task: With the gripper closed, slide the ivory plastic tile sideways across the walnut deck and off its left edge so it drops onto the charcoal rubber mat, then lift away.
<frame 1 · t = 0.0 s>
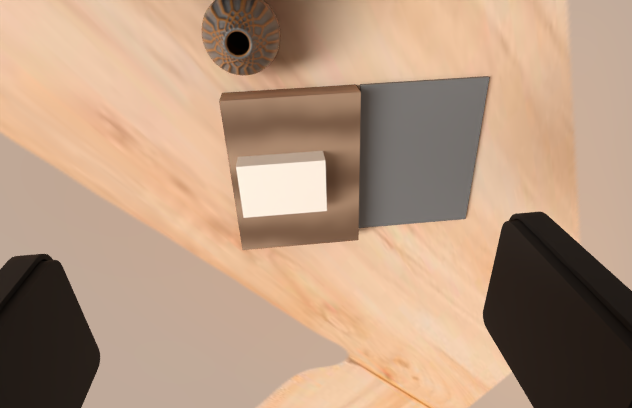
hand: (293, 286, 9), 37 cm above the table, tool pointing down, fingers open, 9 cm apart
ivory tile: (282, 179, 45), point 3 cm above the table, touching walnut deck
charcoal mat: (417, 157, 49), on the table
walnut deck: (295, 166, 48), on the table
vase: (244, 29, 40), on the table
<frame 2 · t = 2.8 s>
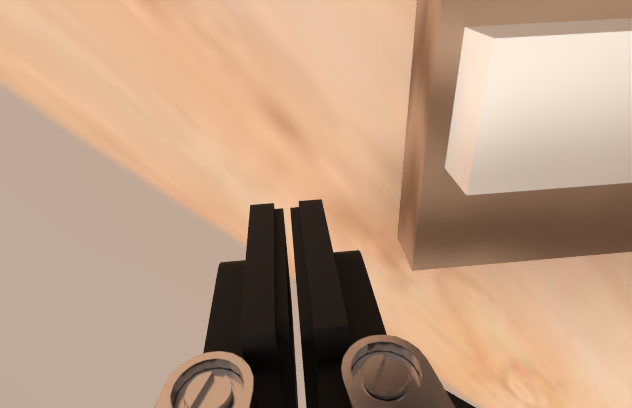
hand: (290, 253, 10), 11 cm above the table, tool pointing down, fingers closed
ivory tile: (557, 97, 18), point 3 cm above the table, touching walnut deck
walnut deck: (550, 77, 20), on the table
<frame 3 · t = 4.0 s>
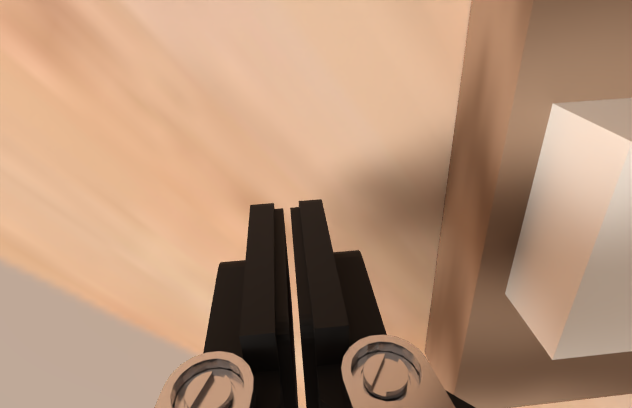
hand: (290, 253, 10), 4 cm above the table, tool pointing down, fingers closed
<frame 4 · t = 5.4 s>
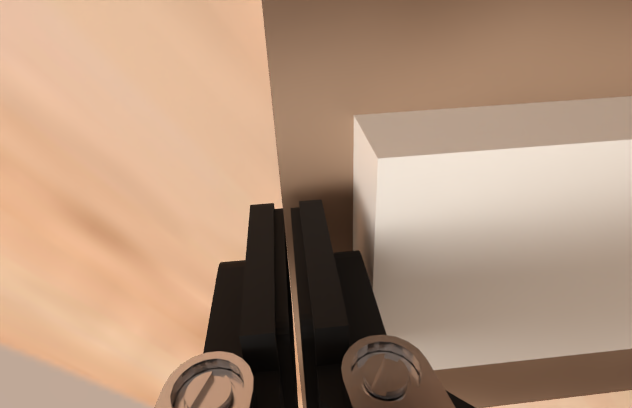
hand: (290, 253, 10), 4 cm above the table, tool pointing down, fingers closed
ivory tile: (515, 210, 11), point 3 cm above the table, touching gripper, walnut deck
walnut deck: (489, 161, 14), on the table
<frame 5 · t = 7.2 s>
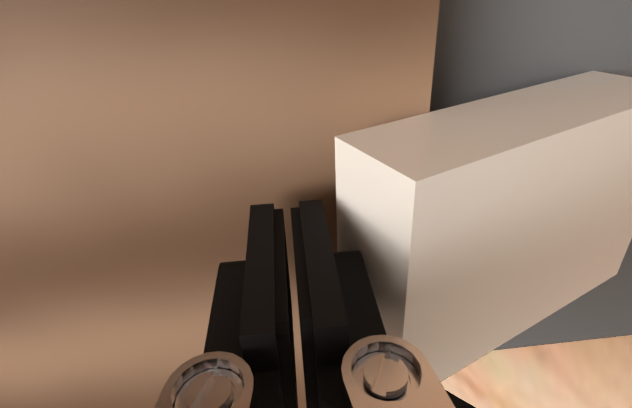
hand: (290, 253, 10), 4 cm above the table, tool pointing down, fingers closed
ivory tile: (469, 200, 12), point 2 cm above the table, tilted 24°, touching gripper
charcoal mat: (606, 152, 14), on the table
walnut deck: (177, 188, 13), on the table
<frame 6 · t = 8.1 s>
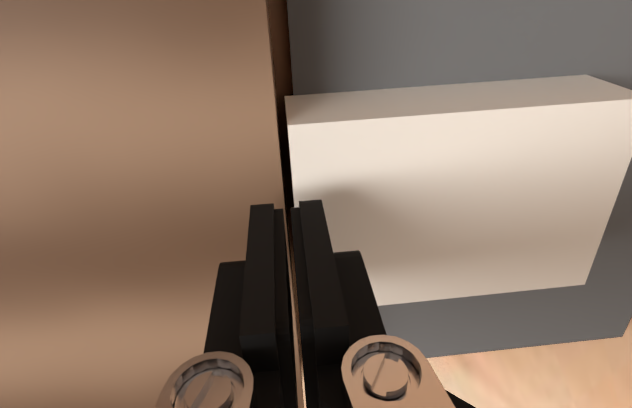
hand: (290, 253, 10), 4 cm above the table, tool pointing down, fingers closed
ivory tile: (429, 177, 14), resting on charcoal mat
charcoal mat: (505, 162, 14), on the table
walnut deck: (63, 197, 13), on the table
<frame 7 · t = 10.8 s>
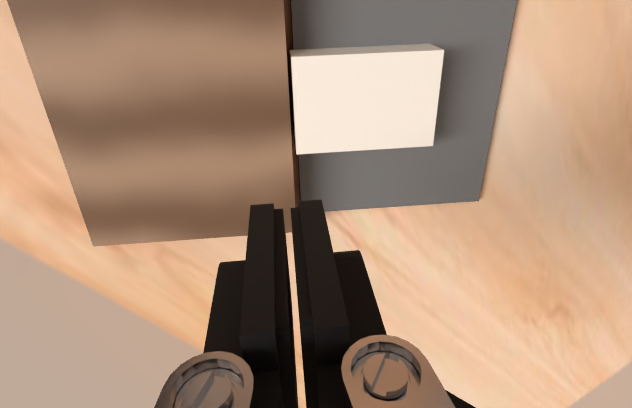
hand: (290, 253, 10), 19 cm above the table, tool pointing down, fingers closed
ivory tile: (359, 94, 28), resting on charcoal mat
charcoal mat: (398, 88, 28), on the table
walnut deck: (181, 99, 27), on the table
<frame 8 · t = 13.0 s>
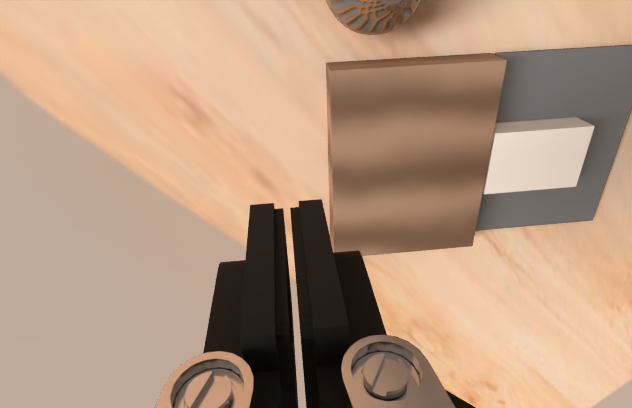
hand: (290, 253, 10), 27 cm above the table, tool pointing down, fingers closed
ivory tile: (523, 150, 40), resting on charcoal mat
charcoal mat: (548, 145, 40), on the table
walnut deck: (401, 156, 39), on the table
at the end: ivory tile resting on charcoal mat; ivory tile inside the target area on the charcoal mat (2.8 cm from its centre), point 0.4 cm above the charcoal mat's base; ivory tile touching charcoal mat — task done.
